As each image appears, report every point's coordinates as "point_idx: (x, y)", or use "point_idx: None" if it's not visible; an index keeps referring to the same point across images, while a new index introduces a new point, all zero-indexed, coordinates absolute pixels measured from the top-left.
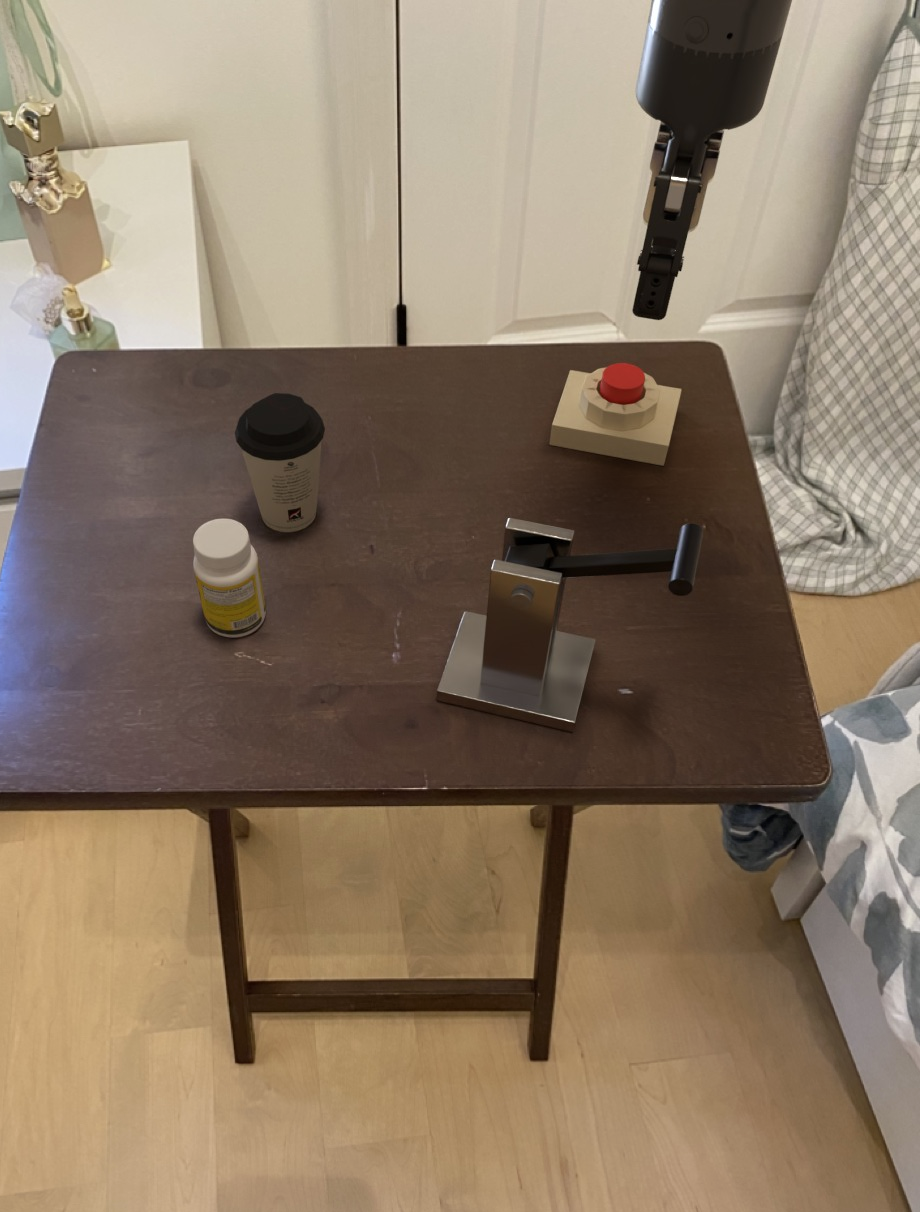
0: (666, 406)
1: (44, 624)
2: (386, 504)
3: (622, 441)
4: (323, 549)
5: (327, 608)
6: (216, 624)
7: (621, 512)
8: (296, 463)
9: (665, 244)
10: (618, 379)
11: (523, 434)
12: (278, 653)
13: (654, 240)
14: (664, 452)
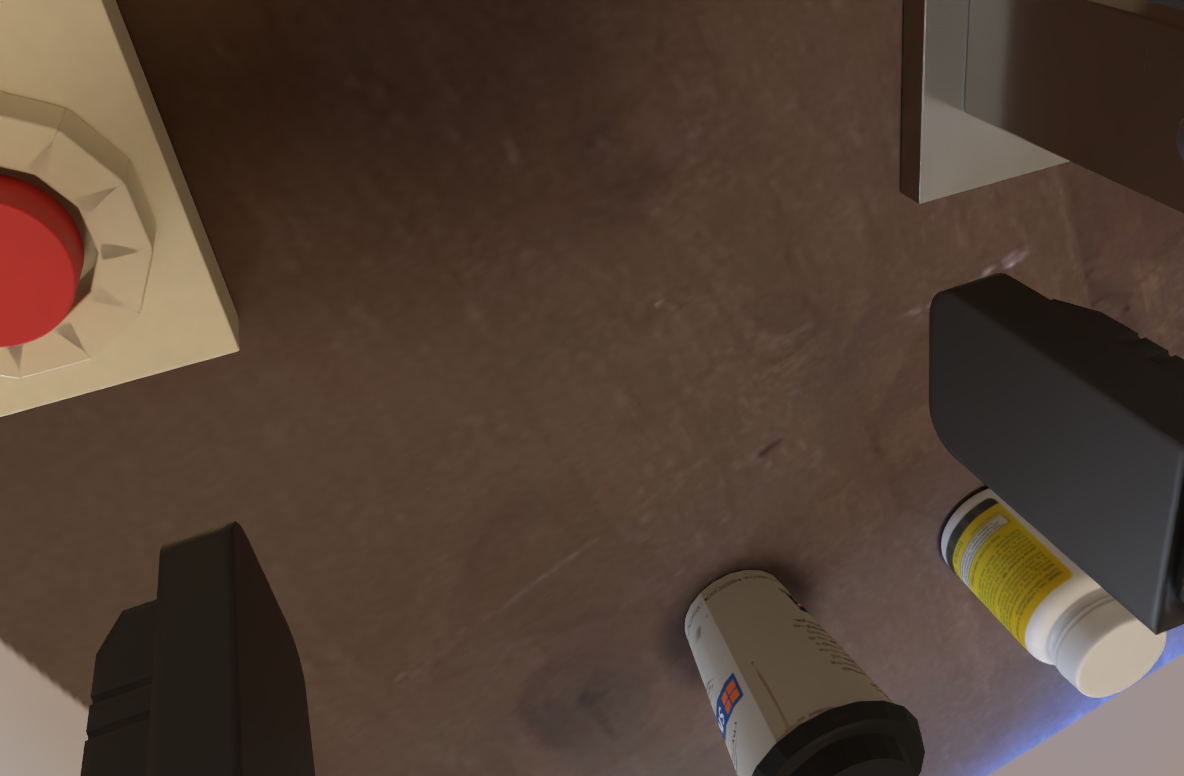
0: None
1: (1051, 695)
2: (638, 499)
3: (157, 135)
4: (799, 514)
5: (932, 423)
6: None
7: (394, 7)
8: (882, 694)
9: (272, 603)
10: (22, 282)
11: (238, 393)
12: None
13: (298, 668)
14: None
